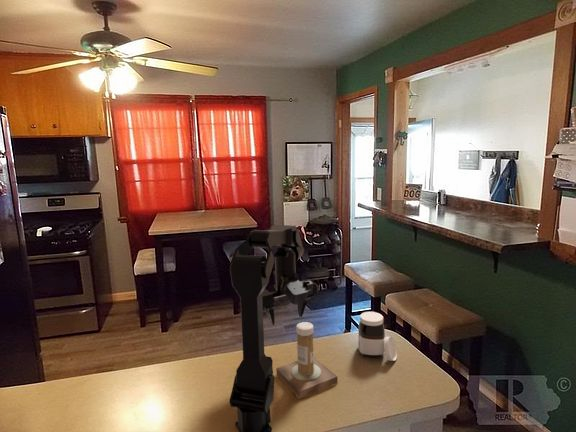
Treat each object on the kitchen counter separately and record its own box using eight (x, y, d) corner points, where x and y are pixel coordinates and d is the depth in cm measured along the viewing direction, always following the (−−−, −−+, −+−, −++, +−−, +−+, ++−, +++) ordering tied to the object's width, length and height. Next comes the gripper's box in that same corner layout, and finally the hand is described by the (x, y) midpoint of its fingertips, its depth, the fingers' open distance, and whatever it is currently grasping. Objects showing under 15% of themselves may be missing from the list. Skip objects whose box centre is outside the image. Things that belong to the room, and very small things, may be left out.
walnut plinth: (299, 398, 94) (299, 390, 93) (276, 374, 104) (276, 367, 104) (337, 383, 100) (337, 375, 99) (312, 361, 110) (312, 354, 110)
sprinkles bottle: (317, 372, 101) (316, 326, 98) (303, 378, 98) (302, 331, 96) (307, 364, 105) (306, 319, 102) (294, 370, 102) (292, 324, 100)
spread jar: (356, 343, 120) (357, 309, 118) (392, 344, 119) (393, 309, 117) (360, 364, 108) (360, 327, 106) (400, 365, 107) (401, 328, 105)
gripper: (269, 284, 94) (271, 341, 97) (329, 270, 103) (329, 323, 106) (250, 272, 103) (253, 324, 106) (307, 260, 112) (308, 309, 115)
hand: (286, 320), depth 108 cm, fingers open, 9 cm apart
